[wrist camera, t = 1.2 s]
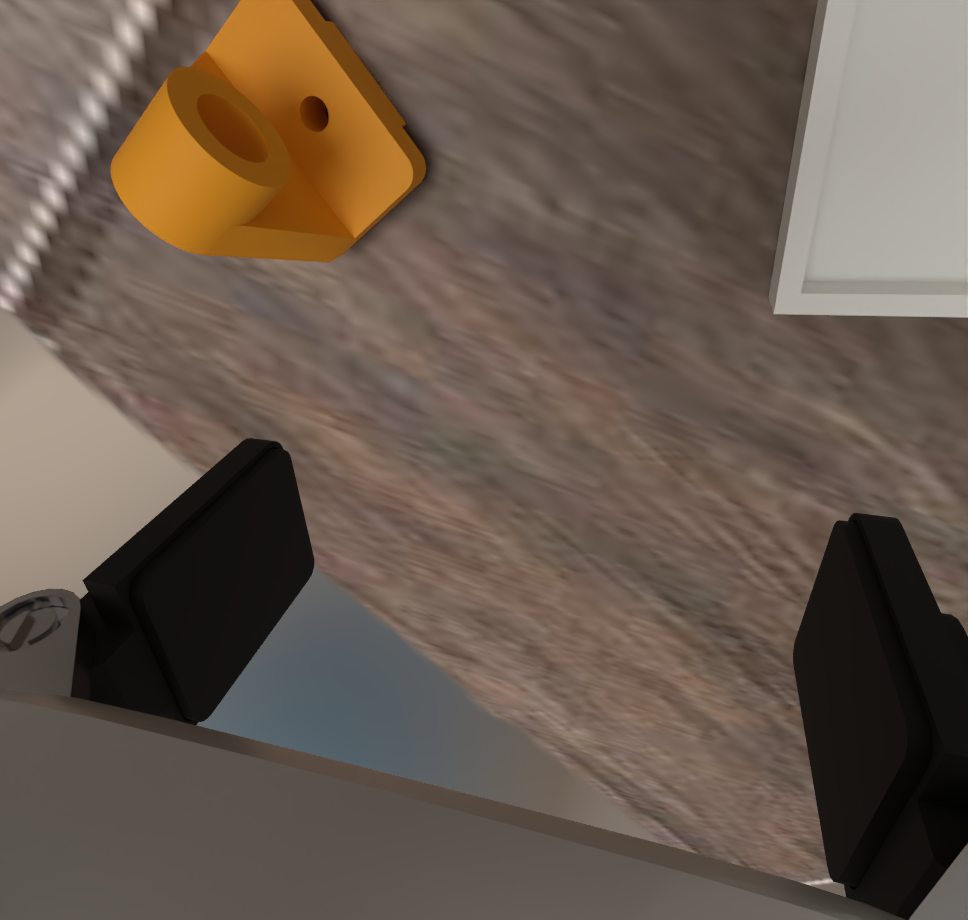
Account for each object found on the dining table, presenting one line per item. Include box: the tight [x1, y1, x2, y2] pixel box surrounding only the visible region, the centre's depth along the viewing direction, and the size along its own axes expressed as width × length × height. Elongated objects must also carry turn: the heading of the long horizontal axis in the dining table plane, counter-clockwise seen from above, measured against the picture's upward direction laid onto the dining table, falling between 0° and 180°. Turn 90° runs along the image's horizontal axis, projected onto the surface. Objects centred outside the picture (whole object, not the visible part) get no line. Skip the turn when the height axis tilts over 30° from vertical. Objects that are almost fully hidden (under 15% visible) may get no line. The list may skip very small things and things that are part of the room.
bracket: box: [111, 0, 426, 262], centre depth 29 cm, size 11×7×12 cm, turn 39°
